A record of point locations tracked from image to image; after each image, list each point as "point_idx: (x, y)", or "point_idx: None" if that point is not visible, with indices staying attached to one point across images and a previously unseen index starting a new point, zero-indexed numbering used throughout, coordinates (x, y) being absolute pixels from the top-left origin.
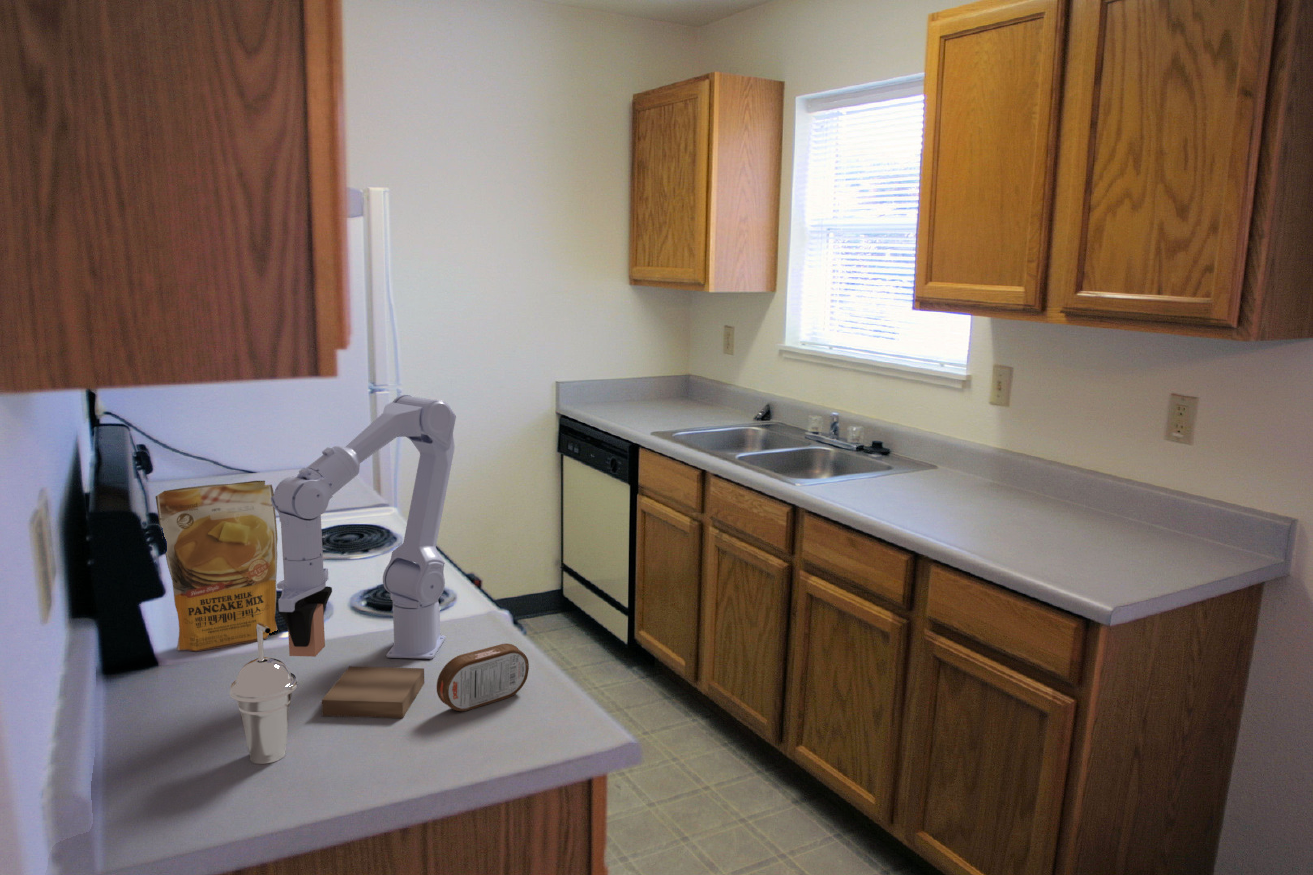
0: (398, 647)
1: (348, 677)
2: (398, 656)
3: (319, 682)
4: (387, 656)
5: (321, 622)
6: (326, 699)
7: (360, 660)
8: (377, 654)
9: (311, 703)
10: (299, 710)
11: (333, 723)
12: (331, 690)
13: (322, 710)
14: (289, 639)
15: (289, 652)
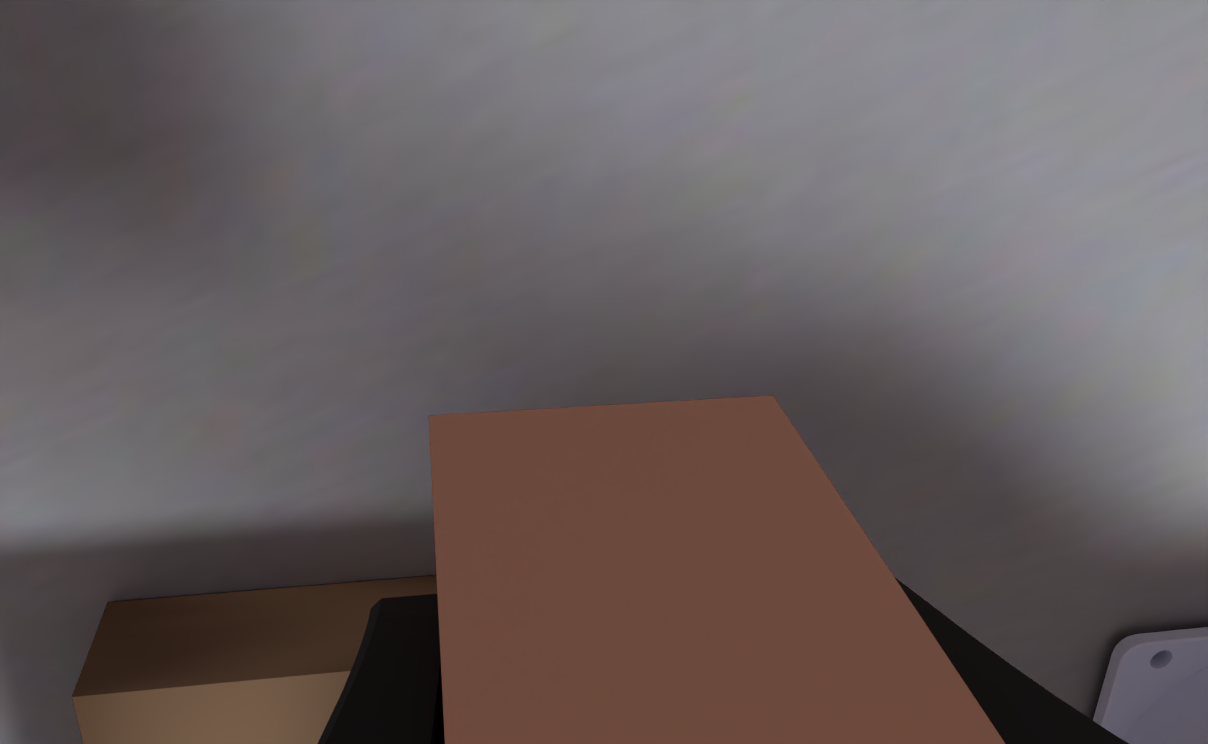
0: (1177, 737)
1: None
2: (1099, 715)
3: (712, 341)
4: (1118, 649)
5: None
6: (93, 725)
7: (1110, 478)
8: (1199, 549)
9: (308, 440)
10: (160, 403)
11: (9, 714)
12: (278, 689)
13: (97, 634)
14: (438, 564)
15: (433, 438)
